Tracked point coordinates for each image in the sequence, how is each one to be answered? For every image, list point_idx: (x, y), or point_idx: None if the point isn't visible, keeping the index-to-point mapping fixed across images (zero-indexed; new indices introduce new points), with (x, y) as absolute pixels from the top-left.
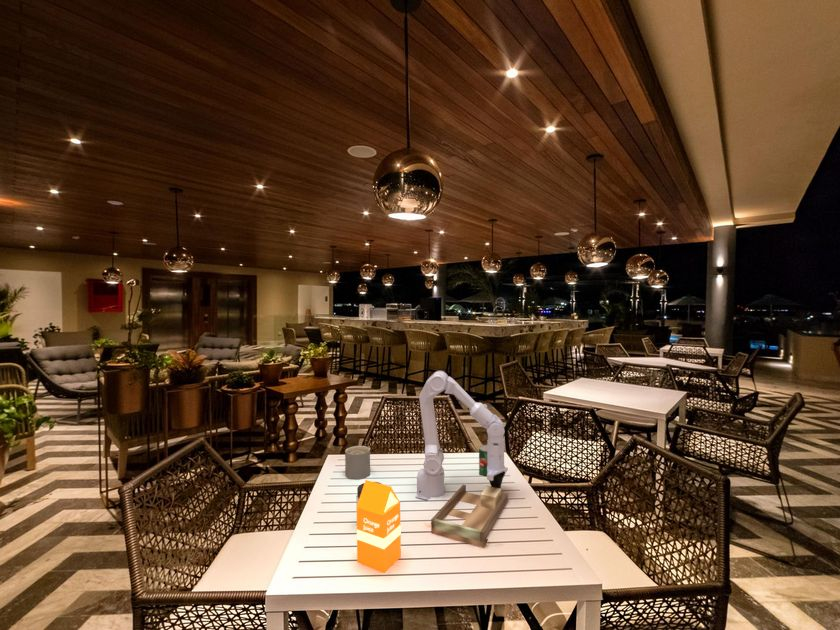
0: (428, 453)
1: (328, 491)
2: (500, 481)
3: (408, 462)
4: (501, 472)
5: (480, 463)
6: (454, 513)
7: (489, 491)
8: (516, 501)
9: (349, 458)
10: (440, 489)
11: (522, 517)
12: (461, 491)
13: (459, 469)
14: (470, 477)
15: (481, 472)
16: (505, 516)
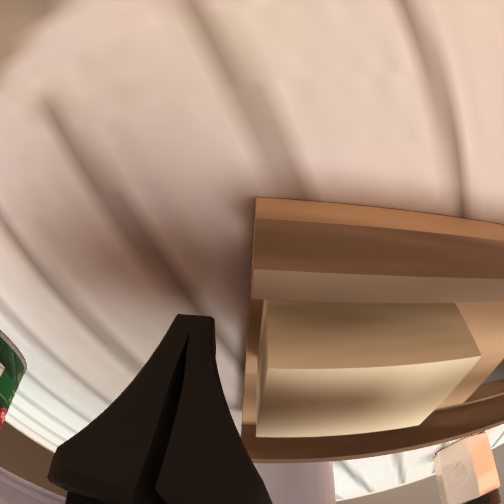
0: None
1: None
2: (242, 449)
3: None
4: (108, 502)
5: (3, 420)
6: (457, 396)
7: (366, 412)
8: (134, 143)
9: None
10: (320, 477)
11: (426, 52)
12: (306, 450)
13: (48, 415)
14: (62, 396)
15: (18, 385)
16: (440, 189)
